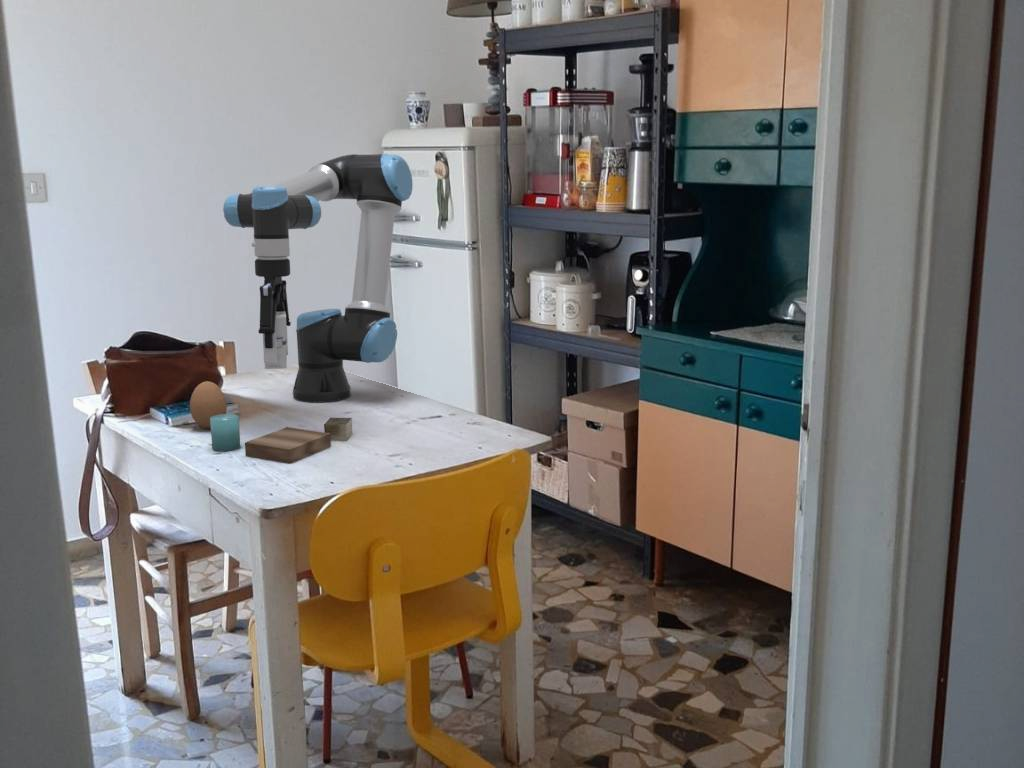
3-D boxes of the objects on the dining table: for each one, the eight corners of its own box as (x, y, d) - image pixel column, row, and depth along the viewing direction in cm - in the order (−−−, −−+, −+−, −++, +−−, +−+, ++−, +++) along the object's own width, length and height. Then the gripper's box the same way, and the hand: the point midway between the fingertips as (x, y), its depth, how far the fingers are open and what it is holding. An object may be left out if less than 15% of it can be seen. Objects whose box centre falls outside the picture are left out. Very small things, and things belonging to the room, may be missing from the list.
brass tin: (331, 434, 227) (330, 417, 226) (352, 434, 227) (351, 417, 226) (324, 441, 222) (324, 424, 221) (346, 441, 221) (346, 424, 220)
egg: (202, 422, 237) (199, 377, 234) (234, 424, 235) (231, 378, 233) (184, 431, 229) (181, 384, 226) (217, 433, 227) (214, 386, 225)
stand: (287, 439, 222) (287, 427, 221) (331, 446, 217) (330, 433, 216) (245, 456, 210) (244, 442, 209) (290, 463, 205) (289, 449, 204)
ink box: (265, 362, 224) (262, 311, 222) (287, 361, 225) (285, 310, 223) (264, 369, 216) (262, 316, 214) (288, 368, 217) (286, 315, 215)
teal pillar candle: (225, 443, 220) (223, 412, 218) (246, 446, 217) (244, 415, 216) (206, 449, 215) (204, 418, 213) (227, 453, 212) (225, 421, 210)
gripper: (268, 254, 227) (272, 350, 231) (240, 261, 205) (245, 367, 210) (300, 254, 227) (303, 350, 231) (276, 262, 205) (281, 367, 210)
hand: (276, 358), depth 220 cm, fingers closed on ink box, 9 cm apart
